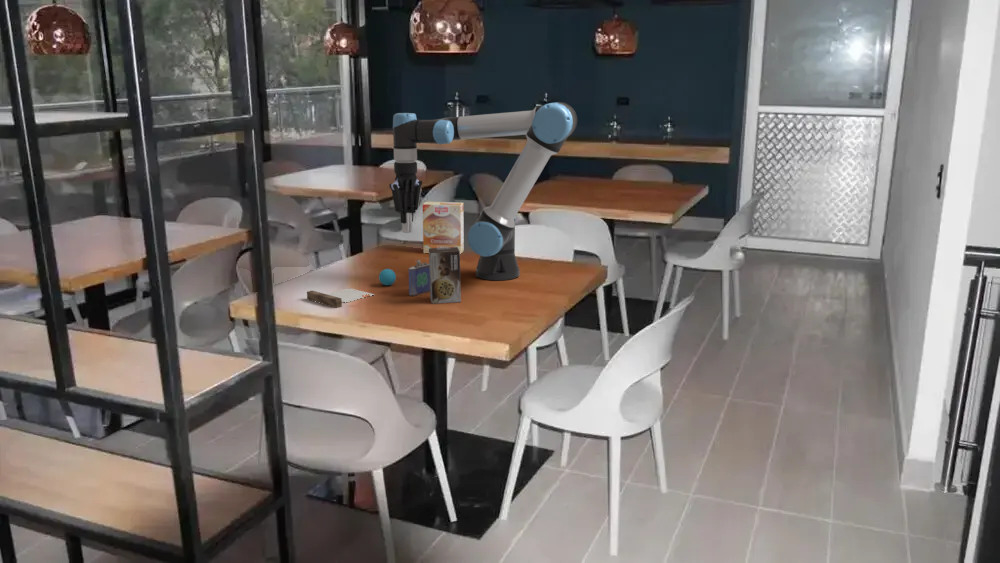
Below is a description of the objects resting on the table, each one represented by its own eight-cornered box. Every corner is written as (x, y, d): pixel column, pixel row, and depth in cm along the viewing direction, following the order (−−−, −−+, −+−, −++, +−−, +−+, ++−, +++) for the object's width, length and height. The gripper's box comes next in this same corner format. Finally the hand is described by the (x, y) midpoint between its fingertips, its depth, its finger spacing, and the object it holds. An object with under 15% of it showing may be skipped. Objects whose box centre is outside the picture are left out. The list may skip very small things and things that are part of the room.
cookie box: (458, 297, 255) (458, 246, 251) (461, 302, 249) (460, 251, 245) (429, 298, 253) (428, 247, 249) (431, 303, 247) (430, 252, 243)
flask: (412, 296, 255) (411, 263, 252) (406, 295, 257) (405, 262, 254) (433, 291, 262) (432, 258, 259) (426, 289, 263) (426, 257, 261)
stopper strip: (341, 306, 244) (341, 298, 243) (336, 307, 242) (336, 299, 242) (312, 298, 253) (312, 290, 252) (307, 299, 251) (306, 291, 250)
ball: (399, 285, 269) (399, 268, 267) (387, 288, 265) (386, 271, 263) (388, 282, 272) (387, 266, 271) (375, 285, 268) (375, 269, 267)
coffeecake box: (423, 253, 315) (422, 203, 310) (426, 249, 322) (425, 201, 317) (461, 254, 314) (460, 204, 309) (464, 251, 320) (463, 201, 316)
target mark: (374, 295, 256) (374, 294, 256) (345, 303, 247) (345, 302, 247) (349, 288, 264) (349, 288, 264) (320, 296, 255) (320, 295, 255)
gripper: (412, 158, 273) (414, 228, 279) (382, 162, 263) (384, 233, 269) (428, 160, 268) (429, 230, 274) (398, 163, 258) (400, 236, 264)
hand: (407, 232), depth 271 cm, fingers closed
